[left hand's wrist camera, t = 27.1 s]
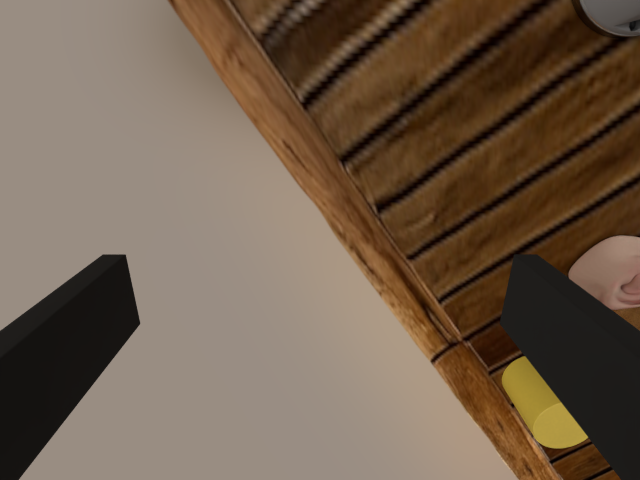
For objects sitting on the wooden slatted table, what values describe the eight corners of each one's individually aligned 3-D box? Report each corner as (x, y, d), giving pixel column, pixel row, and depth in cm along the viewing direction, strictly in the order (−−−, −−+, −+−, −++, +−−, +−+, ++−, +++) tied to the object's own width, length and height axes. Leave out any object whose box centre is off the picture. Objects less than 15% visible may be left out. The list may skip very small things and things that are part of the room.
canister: (510, 404, 63) (541, 456, 54) (494, 366, 60) (525, 414, 51) (562, 385, 62) (604, 435, 53) (549, 346, 59) (591, 392, 50)
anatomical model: (572, 301, 51) (627, 229, 47) (555, 287, 55) (605, 219, 51) (649, 332, 53) (709, 264, 49) (628, 316, 57) (681, 252, 53)
